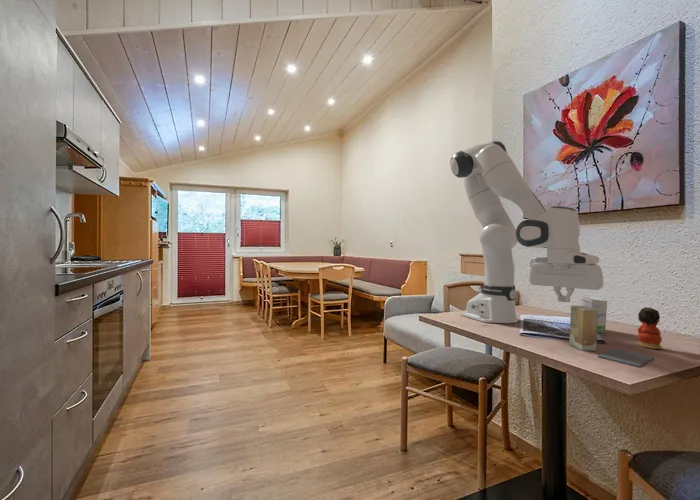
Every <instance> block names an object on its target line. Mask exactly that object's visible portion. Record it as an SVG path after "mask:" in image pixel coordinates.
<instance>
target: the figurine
mask: <svg viewBox="0 0 700 500" xmlns="http://www.w3.org/2000/svg"><path fill="white" fill-rule="evenodd" d="M660 319H661V315H660V312H659V310H657V309H654V308H653V307H647V306H646V307H643V308H641V309H640V311H639V312H638V314H637V320H638V321H639V322H640V323H642V324H641V325H639V327H637V332H638V333H637V338H638V340H639V341H638V342H637V346H639V347H641V348H648V349H652V350H662V349H663V347H662V346H661V343H662V340H663V337H662V336H661V334H662V332H661V331H660V329H659V328H658V327H657V325H658V324H659V323H660V321H661V320H660Z"/></svg>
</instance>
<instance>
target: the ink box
mask: <svg viewBox="0 0 700 500" xmlns="http://www.w3.org/2000/svg"><path fill="white" fill-rule="evenodd" d="M580 306H586V307H589V308H592V309H595V310H598V317H597V334H606V326H607V325H606V323H607V310H608V300H605V299H603V298H600V297H599V296H587V295H582V296H580Z"/></svg>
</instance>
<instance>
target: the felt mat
mask: <svg viewBox="0 0 700 500" xmlns="http://www.w3.org/2000/svg"><path fill="white" fill-rule="evenodd" d="M597 358H600V359H604V360H607V361H612V362H616V363H620V364H623V365H624V364H625V365H628V366H632V367H636V368H640V367H642V366H643V365H646V364H647V363H648V362H650V361H652V360H654V359H655V356H653V355H647V354H642V353H639V352H638V353H637V352H633V351H628V350H624V349H620V348H616V347H614V348H612V349H609V350H607V351H604V352H603V353H601V354H599V355H597Z"/></svg>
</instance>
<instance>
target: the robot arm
mask: <svg viewBox="0 0 700 500" xmlns="http://www.w3.org/2000/svg"><path fill="white" fill-rule="evenodd" d="M449 162H450V163H449V164H450V169H451V172H452V174H453V175H454V176H455V177H457V178H461V179H462V178H463V183H464V189H465V193H466V197H467V199H468V202H469V204H470V206H471V208H472V211H473V213H474V214H473V215H474V217H475V218H476V219H477V220H478V222H479V223H480V225H481V226H482V227H483V228H482V230H481V231H480V234H479V242H480V244H481V248H482V256H483V260H484V261H483V262H484V283H483V284H482V285H478V289H479V290H480V292H479V293H478V294H476V295H475V296H474V297H472V298H471V299H469V300H468V301H467V304H466V309H465V310H463V311H461V312H460V316H463V317H466V318H469V319H472V320H476V321H480V322H483V323H488V324H489V323H493V324H494V323H495V324H496V323H497V324H513V323H518V322H519V320H518V316H517V311H516V305H515V303H516V302H515V300H516V286H515V263H514V258H513V251H512V249H513V248H515V247H516V245H517V244H518V243H519V245H521V246H522V247H526V248H534V249H535V248H537V249H538V248H542V249H546V257H539V256H538V257H534V258H532V259H530V262H529V267H530V269H529V276H528V277H529V279H528V281H529V283H530V285H532V286H542V287H545V286H546V287H553V291H554V293H555V294H556V296H557V302H561V303H570V302H571V296H572V295H573V293H574V292H575V289H579V290H580V289H581V290H591V291H593V290H594V291H597V290H601V289H603V287H604V275H603V270H602V267H601V266H600V265H599V262H600V258H599V256H597V255H593V254H589V253H586V252H583V251H581V245H580V243H579V237H580V235H581V232H580V231H581V229H580V218H579V214H578V211H577V210H576V209H575V208H573V207H567V206H555V205H554V206H550V207H548V208H547V209H546V208H545V207H544V206H543V204H542V202H540V200H539V199H538V197H537V196H536V194H535V193H534V192H533V191H532V189H531V188H530V186H529V185H528V184H527V182H526V180H525V179H524V178H523V176H522V174H521V172H520V171H519V169H518V168H517V166H516V164H515V163H514V161H513V159H512V158H511V157H510V155H509V154H508V151H507V147H506V146H505V145H504V144H503V143H502V141H497V140H492V141H489V142H486V143H481V144H477V145H474V146H471V147H468V148H466V149H463V150H460V151H457V152H455V153H454V154H453V155H452V156H451V158H450V161H449ZM500 197H501V198H504V199H507V200H508V201H510V202H513V203H514V204H515V205H517V206H518V207H519V208H520V209H521V211H522V213H523V214H524V216H525V217H526V218H527V219H525V220H522V221H521V222H519V224H518V225H517V227H515V226H514V224H513V222H512V220H511V218H510V216H509V215H508V212H507V211H506V209H505V208H504V206H503V204H502V201H501V199H500ZM562 288H565V291H566V294H565V295H563V294H562V291H561V290H562Z"/></svg>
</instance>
